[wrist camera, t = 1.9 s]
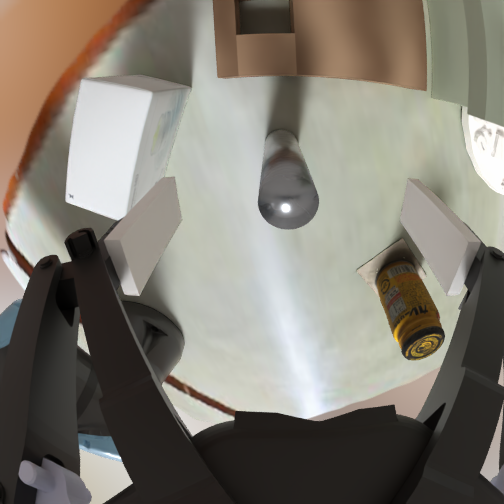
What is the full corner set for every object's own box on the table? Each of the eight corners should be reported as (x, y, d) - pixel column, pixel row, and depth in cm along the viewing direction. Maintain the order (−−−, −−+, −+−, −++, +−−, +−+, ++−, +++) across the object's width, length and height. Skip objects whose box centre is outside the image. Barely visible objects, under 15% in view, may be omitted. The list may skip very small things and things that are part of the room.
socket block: (225, 78, 23) (217, 77, 19) (219, -26, 16) (211, -41, 13) (407, 88, 21) (426, 91, 18) (401, -13, 15) (418, -22, 11)
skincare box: (167, 179, 29) (124, 226, 20) (117, 162, 28) (61, 202, 19) (195, 86, 23) (154, 91, 15) (138, 73, 22) (77, 77, 14)
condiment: (385, 303, 37) (408, 372, 27) (355, 269, 34) (379, 345, 24) (426, 275, 34) (460, 341, 24) (401, 236, 31) (443, 305, 21)
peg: (265, 160, 27) (259, 229, 16) (264, 129, 25) (256, 174, 14) (297, 160, 27) (317, 229, 15) (297, 129, 25) (320, 174, 14)
